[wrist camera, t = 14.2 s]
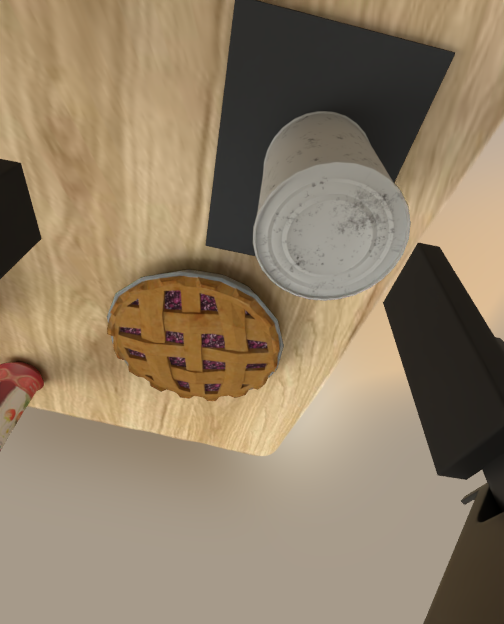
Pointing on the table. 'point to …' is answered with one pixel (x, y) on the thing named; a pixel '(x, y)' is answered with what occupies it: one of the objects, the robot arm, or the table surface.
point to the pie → (195, 334)
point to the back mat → (310, 99)
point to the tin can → (327, 210)
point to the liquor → (16, 394)
